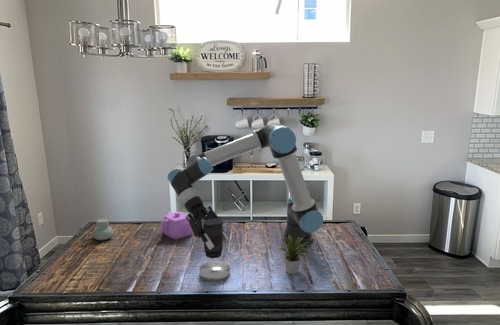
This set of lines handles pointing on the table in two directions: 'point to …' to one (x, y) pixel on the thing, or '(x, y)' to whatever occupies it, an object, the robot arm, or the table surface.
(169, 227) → the teakettle
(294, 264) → the house plant
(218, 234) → the camera lens
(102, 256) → the table surface
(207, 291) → the table surface
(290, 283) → the table surface
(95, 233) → the air freshener
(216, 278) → the cap plate
